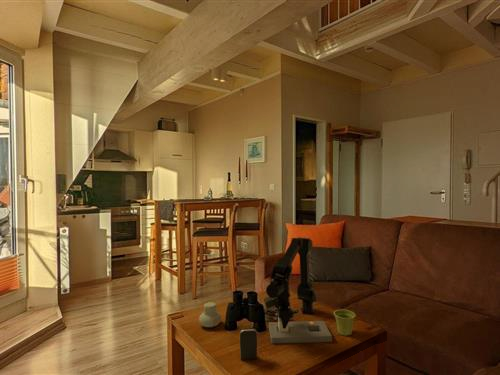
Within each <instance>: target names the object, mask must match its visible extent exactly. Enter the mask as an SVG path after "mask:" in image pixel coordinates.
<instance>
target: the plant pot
mask: <svg viewBox="0 0 500 375" xmlns="http://www.w3.org/2000/svg"><path fill="white" fill-rule="evenodd" d="M333 315H334V318H335V321H336V328H337V329H336V330H337V333H339V335H341V336H346V337H347V336H351V335H352V334H353V327H354V320H355V318H356V314H355V312H354V311H351V310H350V309H349V310H348V309H336V310H335V311H333Z"/></svg>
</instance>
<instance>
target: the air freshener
mask: <svg viewBox="0 0 500 375" xmlns="http://www.w3.org/2000/svg"><path fill="white" fill-rule="evenodd" d="M222 318H223V317H222V315H221V313H220V312H219V311H217V304H216V303H215V302H214V301H213V302H212V301H209V302H205V303H204V305H203V311H202V313H201V314H200V315H199V317H198V322H199V324H200V325H201V326H202V327H205V328H215V327H216V326H218V325H219V324H220V322H221V321H222ZM214 326H215V327H214Z"/></svg>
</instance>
